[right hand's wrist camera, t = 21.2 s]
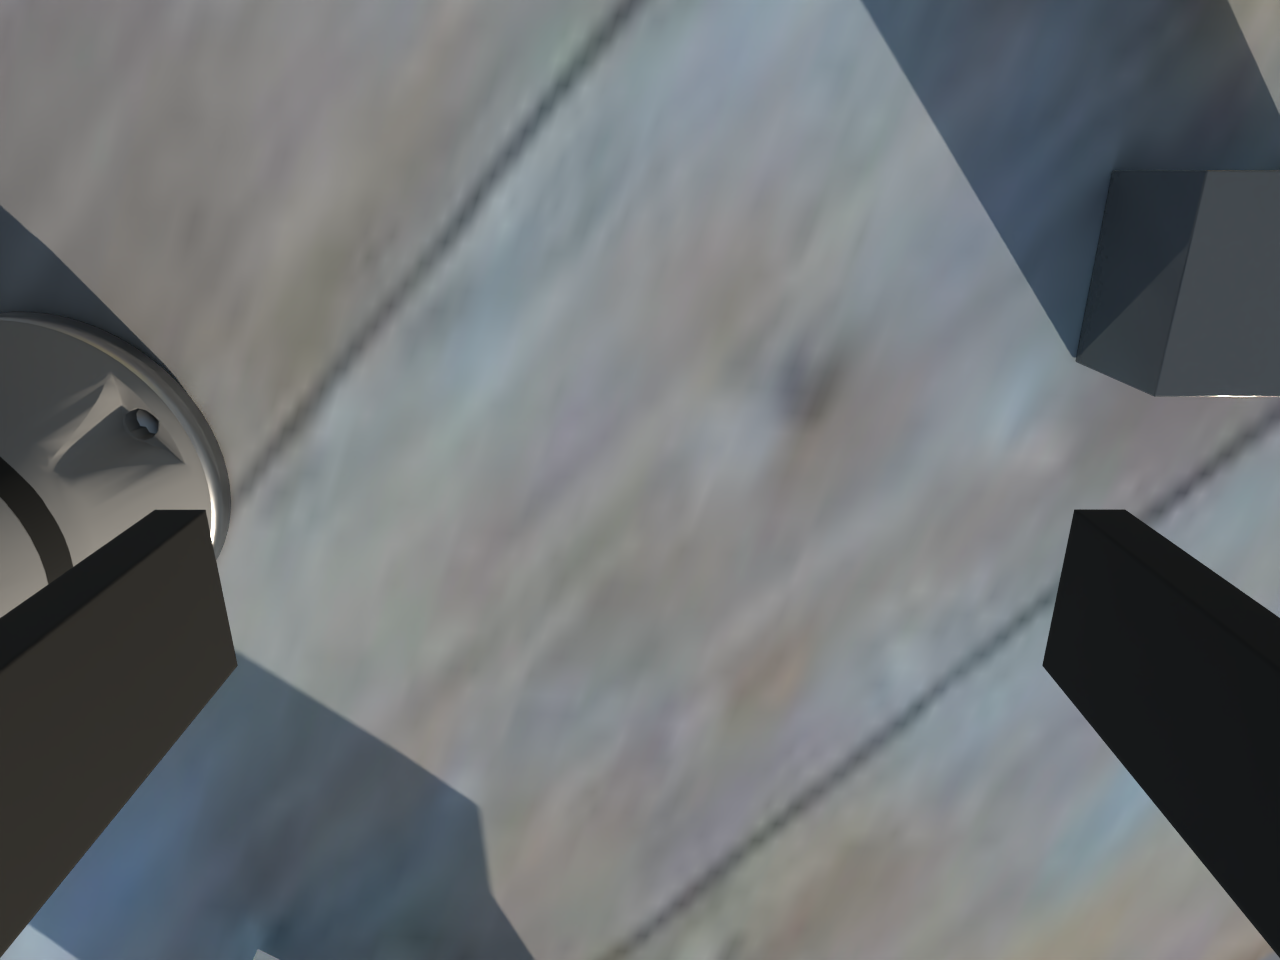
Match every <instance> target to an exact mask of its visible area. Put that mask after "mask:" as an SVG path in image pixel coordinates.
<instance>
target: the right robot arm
mask: <svg viewBox="0 0 1280 960" xmlns="http://www.w3.org/2000/svg"><path fill="white" fill-rule="evenodd" d="M230 508H231V497H230V485H229V479H228V473H227V469H226V465H225V462H224V458H223V455H222V453H221V450H220V447H219V445H218V442H217V440H216V438H215V436H214V434H213V432H212V430H211V428H210V426H209V424H208V423H207V421H206V419H205V418H204V416H203V414H202V413H201V411H200V410H199V408H198V407H197V406H196V404H195V403H194V402H193V400H192V399H191V397H190V396H189V395H188V394H187V393H186V392H185V390H184V389H183V388H182V387H181V386H180V385H179V384H178V383H177V382H176V381H175V380H174V379H173V378H172V377H171V376H170V375H169V374H168V373H167V372H166V371H165V370H164V369H163V368H162V367H160V366H159V365H158V364H157V363H156V362H154V361H153V360H152V359H151V358H149V357H148V356H147V355H145V354H144V353H142V352H141V351H140V350H138V349H137V348H135V347H134V346H132V345H130V344H129V343H127V342H125V341H124V340H122V339H120V338H118V337H116V336H114V335H112V334H110V333H108V332H106V331H104V330H102V329H99V328H97V327H94V326H92V325H89V324H87V323H84V322H80V321H77V320H74V319H70V318H66V317H62V316H57V315H52V314H45V313H36V312H7V313H0V957H1V956H2V955H3V954H4V953H5V951H6V950H7V949H8V948H9V946H10V945H11V944H12V943H13V941H14V940H15V939H16V938H17V937H18V935H19V934H20V933H21V932H22V930H23V929H24V928H25V927H26V925H27V924H28V923H29V922H30V921H31V919H32V918H33V917H34V916H35V914H36V913H37V912H38V911H39V909H40V908H41V907H42V906H43V905H44V903H45V902H46V901H47V900H48V898H49V897H50V896H51V895H52V893H53V892H54V891H55V890H56V889H57V887H58V886H59V885H60V884H61V882H62V881H63V880H64V879H65V877H66V876H67V875H68V874H69V872H70V871H71V870H72V869H73V868H74V866H75V865H76V864H77V863H78V861H79V860H80V859H81V858H82V856H83V855H84V854H85V853H86V852H87V850H88V849H89V848H90V847H91V845H92V844H93V843H94V842H95V840H96V839H97V838H98V837H99V836H100V834H101V833H102V832H103V831H104V829H105V828H106V827H107V826H108V824H109V823H110V822H111V821H112V820H113V818H114V817H115V816H116V815H117V813H118V812H119V811H120V810H121V808H122V807H123V806H124V805H125V804H126V802H127V801H128V800H129V799H130V797H131V796H132V795H133V794H134V792H135V791H136V790H137V789H138V788H139V786H140V785H141V784H142V783H143V781H144V780H145V779H146V778H147V776H148V775H149V774H150V773H151V772H152V770H153V769H154V768H155V767H156V765H157V764H158V763H159V762H160V760H161V759H162V758H163V757H164V755H165V754H166V753H167V752H168V751H169V749H170V748H171V747H172V746H173V744H174V743H175V742H176V741H177V739H178V738H179V737H180V736H181V735H182V733H183V732H184V731H185V730H186V728H187V727H188V726H189V725H190V723H191V722H192V721H193V720H194V719H195V717H196V716H197V715H198V714H199V712H200V711H201V710H202V709H203V707H204V706H205V705H206V704H207V703H208V701H209V700H210V699H211V698H212V696H213V695H214V694H215V693H216V691H217V690H218V689H219V688H220V687H221V685H222V684H223V683H224V682H225V680H226V679H227V678H228V677H229V675H230V674H231V673H232V672H233V671H234V669H235V668H236V667H237V661H236V656H235V651H234V646H233V641H232V636H231V631H230V626H229V622H228V617H227V612H226V607H225V602H224V597H223V592H222V587H221V582H220V578H219V573H218V568H217V563H216V560H217V558H218V556H219V554H220V552H221V549H222V547H223V545H224V542H225V538H226V535H227V531H228V526H229V520H230ZM1043 667H1044V668H1045V669H1046V671H1047V672H1048V673H1049V674H1050V675H1051V677H1052V678H1053V679H1054V680H1055V682H1056V683H1057V684H1058V685H1059V687H1060V688H1061V689H1062V690H1063V691H1064V693H1065V694H1066V695H1067V696H1068V698H1069V699H1070V700H1071V701H1072V703H1073V704H1074V705H1075V706H1076V707H1077V709H1078V710H1079V711H1080V712H1081V714H1082V715H1083V716H1084V717H1085V719H1086V720H1087V721H1088V722H1089V723H1090V725H1091V726H1092V727H1093V728H1094V730H1095V731H1096V732H1097V733H1098V735H1099V736H1100V737H1101V738H1102V739H1103V741H1104V742H1105V743H1106V744H1107V746H1108V747H1109V748H1110V749H1111V751H1112V752H1113V753H1114V754H1115V755H1116V757H1117V758H1118V759H1119V760H1120V762H1121V763H1122V764H1123V765H1124V767H1125V768H1126V769H1127V770H1128V772H1129V773H1130V774H1131V775H1132V776H1133V778H1134V779H1135V780H1136V781H1137V783H1138V784H1139V785H1140V786H1141V788H1142V789H1143V790H1144V791H1145V792H1146V794H1147V795H1148V796H1149V797H1150V799H1151V800H1152V801H1153V802H1154V804H1155V805H1156V806H1157V807H1158V808H1159V810H1160V811H1161V812H1162V813H1163V815H1164V816H1165V817H1166V818H1167V820H1168V821H1169V822H1170V823H1171V824H1172V826H1173V827H1174V828H1175V829H1176V831H1177V832H1178V833H1179V834H1180V836H1181V837H1182V838H1183V839H1184V840H1185V842H1186V843H1187V844H1188V845H1189V847H1190V848H1191V849H1192V850H1193V852H1194V853H1195V854H1196V855H1197V856H1198V858H1199V859H1200V860H1201V861H1202V863H1203V864H1204V865H1205V866H1206V868H1207V869H1208V870H1209V871H1210V872H1211V874H1212V875H1213V876H1214V877H1215V879H1216V880H1217V881H1218V882H1219V884H1220V885H1221V886H1222V887H1223V889H1224V890H1225V891H1226V892H1227V893H1228V895H1229V896H1230V897H1231V898H1232V900H1233V901H1234V902H1235V903H1236V905H1237V906H1238V907H1239V908H1240V909H1241V911H1242V912H1243V913H1244V914H1245V916H1246V917H1247V918H1248V919H1249V921H1250V922H1251V923H1252V924H1253V925H1254V927H1255V928H1256V929H1257V930H1258V932H1259V933H1260V934H1261V935H1262V937H1263V938H1264V939H1265V940H1266V941H1267V943H1268V944H1269V945H1270V946H1271V948H1272V949H1273V950H1274V951H1275V953H1276V954H1277V955H1278V956H1279V957H1280V618H1279V617H1278V616H1276V615H1275V614H1273V613H1272V612H1270V611H1269V610H1268V609H1266V608H1265V607H1263V606H1262V605H1260V604H1259V603H1258V602H1256V601H1255V600H1253V599H1252V598H1250V597H1249V596H1248V595H1246V594H1245V593H1243V592H1242V591H1240V590H1239V589H1238V588H1236V587H1235V586H1233V585H1232V584H1230V583H1229V582H1228V581H1226V580H1225V579H1223V578H1222V577H1221V576H1219V575H1218V574H1216V573H1215V572H1213V571H1212V570H1211V569H1209V568H1208V567H1206V566H1205V565H1203V564H1202V563H1201V562H1199V561H1198V560H1196V559H1195V558H1193V557H1192V556H1191V555H1189V554H1188V553H1186V552H1185V551H1183V550H1182V549H1181V548H1179V547H1178V546H1176V545H1175V544H1173V543H1172V542H1171V541H1169V540H1168V539H1166V538H1165V537H1163V536H1162V535H1161V534H1159V533H1158V532H1156V531H1155V530H1153V529H1152V528H1151V527H1149V526H1148V525H1146V524H1145V523H1143V522H1142V521H1141V520H1139V519H1138V518H1136V517H1135V516H1133V515H1132V514H1131V513H1129V512H1128V511H1126V510H1074V514H1073V519H1072V524H1071V529H1070V534H1069V538H1068V543H1067V548H1066V553H1065V558H1064V563H1063V568H1062V573H1061V578H1060V582H1059V587H1058V592H1057V597H1056V602H1055V607H1054V612H1053V617H1052V622H1051V626H1050V631H1049V636H1048V641H1047V646H1046V651H1045V656H1044V661H1043Z"/></svg>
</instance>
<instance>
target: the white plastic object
mask: <svg viewBox="0 0 1280 960" xmlns="http://www.w3.org/2000/svg"><path fill="white" fill-rule="evenodd" d="M253 960H279V959H277V958H275V957H273V956H271V955H269V954H267V953H265V952H263V951H261V950H259V949H257V952H256V954H255V956H254V959H253Z"/></svg>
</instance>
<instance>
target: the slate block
mask: <svg viewBox="0 0 1280 960" xmlns="http://www.w3.org/2000/svg"><path fill="white" fill-rule="evenodd" d="M1076 362H1077V363H1080V364H1082V365H1084V366H1086V367H1089V368H1091V369H1093V370H1095V371H1098V372H1100V373H1102V374H1104V375H1107V376H1109V377H1111V378H1114V379H1116V380H1118V381H1120V382H1123V383H1125V384H1127V385H1129V386H1132V387H1134V388H1136V389H1138V390H1141V391H1143V392H1145V393H1147V394H1150V395H1152V396H1154V397H1280V170H1113V172H1112V177H1111V182H1110V187H1109V192H1108V197H1107V203H1106V208H1105V213H1104V218H1103V223H1102V228H1101V233H1100V239H1099V244H1098V249H1097V254H1096V259H1095V264H1094V269H1093V275H1092V280H1091V285H1090V290H1089V295H1088V300H1087V306H1086V311H1085V316H1084V321H1083V326H1082V331H1081V336H1080V342H1079V347H1078V352H1077V357H1076Z"/></svg>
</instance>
